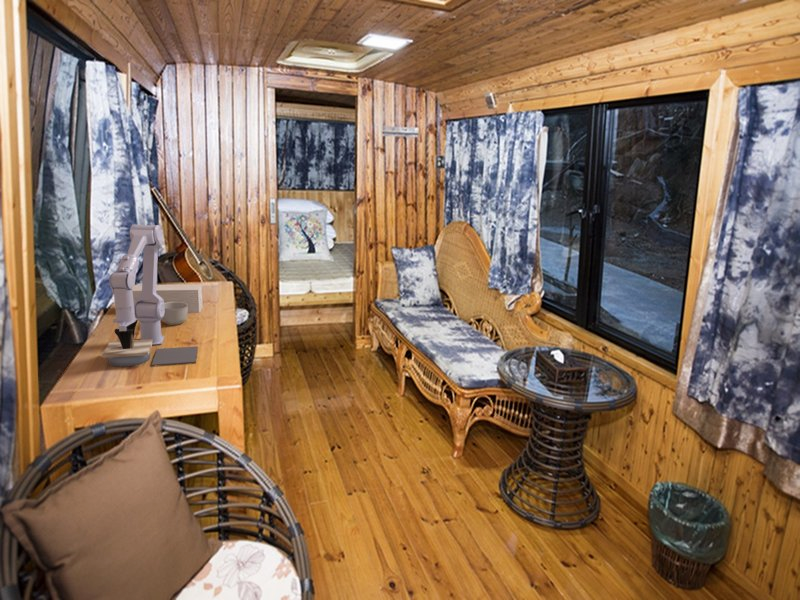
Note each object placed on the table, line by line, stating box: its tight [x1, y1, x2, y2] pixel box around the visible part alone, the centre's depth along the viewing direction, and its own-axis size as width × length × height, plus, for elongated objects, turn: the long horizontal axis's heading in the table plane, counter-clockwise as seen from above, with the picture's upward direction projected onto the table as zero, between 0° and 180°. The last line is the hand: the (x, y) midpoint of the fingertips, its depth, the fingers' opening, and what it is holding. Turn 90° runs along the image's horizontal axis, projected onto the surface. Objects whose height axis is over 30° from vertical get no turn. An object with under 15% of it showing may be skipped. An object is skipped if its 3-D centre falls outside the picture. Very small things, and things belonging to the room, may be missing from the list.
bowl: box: [107, 351, 151, 368], centre depth 197 cm, size 13×13×4 cm
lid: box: [101, 334, 153, 359], centre depth 196 cm, size 14×14×5 cm
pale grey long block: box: [132, 283, 204, 314], centre depth 256 cm, size 32×11×11 cm, turn 101°
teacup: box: [160, 302, 189, 326], centre depth 237 cm, size 14×11×8 cm
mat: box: [151, 346, 199, 367], centre depth 201 cm, size 16×14×1 cm
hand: (128, 344), depth 196 cm, fingers open, 7 cm apart
